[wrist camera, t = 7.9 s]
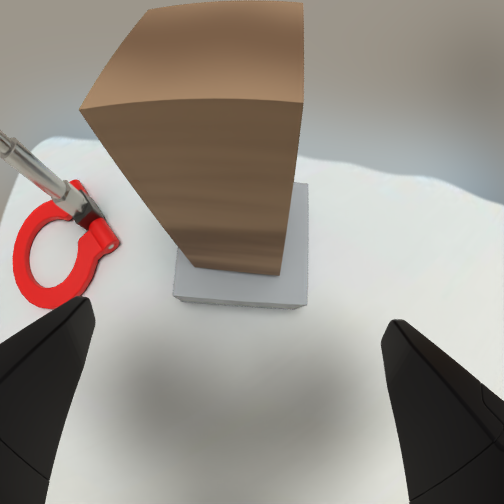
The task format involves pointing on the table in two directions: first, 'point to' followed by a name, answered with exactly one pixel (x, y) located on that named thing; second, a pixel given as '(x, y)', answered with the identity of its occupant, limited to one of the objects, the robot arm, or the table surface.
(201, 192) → the walnut pillar
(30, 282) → the tow hook
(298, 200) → the grey plinth
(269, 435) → the table surface
